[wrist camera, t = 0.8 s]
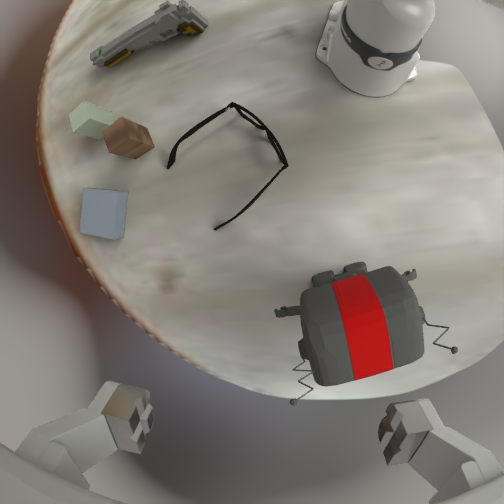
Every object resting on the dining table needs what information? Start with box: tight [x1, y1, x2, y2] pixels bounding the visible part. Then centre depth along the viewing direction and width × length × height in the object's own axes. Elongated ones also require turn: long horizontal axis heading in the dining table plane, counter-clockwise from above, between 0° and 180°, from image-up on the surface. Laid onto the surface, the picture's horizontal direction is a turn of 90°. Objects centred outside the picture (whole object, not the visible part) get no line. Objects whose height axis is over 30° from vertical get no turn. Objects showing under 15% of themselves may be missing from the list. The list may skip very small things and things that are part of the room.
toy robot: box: [274, 262, 458, 405], centre depth 35 cm, size 22×9×30 cm, turn 107°
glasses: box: [167, 102, 288, 230], centre depth 48 cm, size 17×18×5 cm
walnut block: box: [102, 117, 154, 159], centre depth 47 cm, size 4×4×9 cm
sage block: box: [69, 101, 114, 140], centre depth 48 cm, size 4×4×9 cm
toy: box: [90, 0, 208, 67], centre depth 46 cm, size 6×24×10 cm, turn 100°
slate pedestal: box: [80, 188, 128, 240], centre depth 53 cm, size 9×9×4 cm
